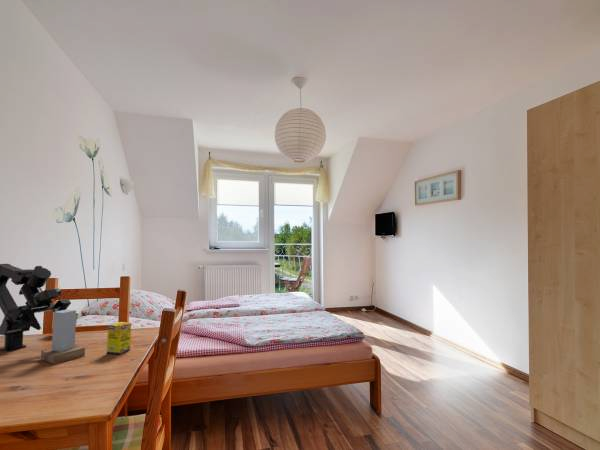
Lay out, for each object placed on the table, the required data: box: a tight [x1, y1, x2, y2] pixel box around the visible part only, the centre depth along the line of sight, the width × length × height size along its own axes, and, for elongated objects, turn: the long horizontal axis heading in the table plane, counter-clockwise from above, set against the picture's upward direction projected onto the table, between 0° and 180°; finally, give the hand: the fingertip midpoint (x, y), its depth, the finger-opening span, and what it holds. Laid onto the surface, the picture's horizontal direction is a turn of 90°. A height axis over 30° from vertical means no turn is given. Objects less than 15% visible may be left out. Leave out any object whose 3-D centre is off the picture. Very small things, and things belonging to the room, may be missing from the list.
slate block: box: [51, 309, 77, 352], centre depth 124 cm, size 5×5×14 cm
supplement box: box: [106, 321, 132, 355], centre depth 130 cm, size 6×6×11 cm
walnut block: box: [40, 344, 86, 365], centre depth 123 cm, size 10×10×3 cm
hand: (52, 326), depth 126 cm, fingers open, 9 cm apart
